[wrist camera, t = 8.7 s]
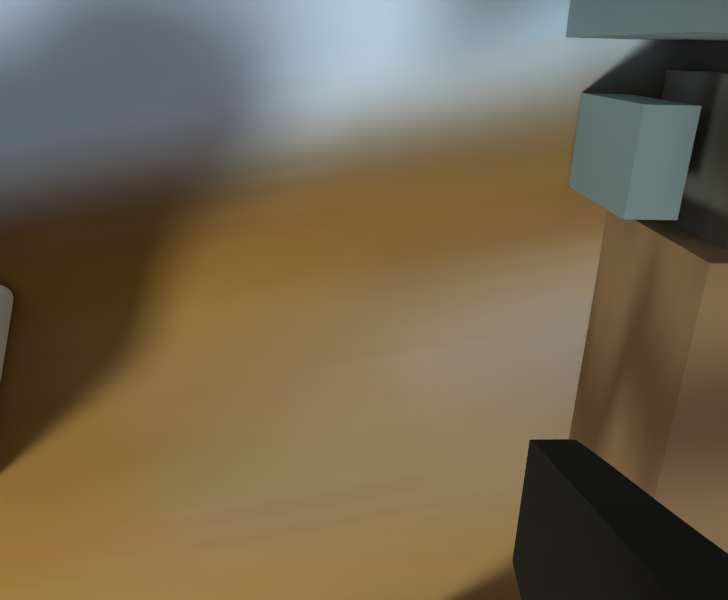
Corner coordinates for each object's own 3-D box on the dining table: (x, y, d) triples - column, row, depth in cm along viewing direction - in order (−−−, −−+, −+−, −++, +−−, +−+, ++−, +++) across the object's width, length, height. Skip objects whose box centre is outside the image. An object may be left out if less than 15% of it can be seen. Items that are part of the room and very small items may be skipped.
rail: (658, 451, 21) (754, 570, 16) (567, 452, 20) (636, 572, 16) (746, 72, 16) (913, 82, 12) (631, 68, 16) (753, 77, 11)
